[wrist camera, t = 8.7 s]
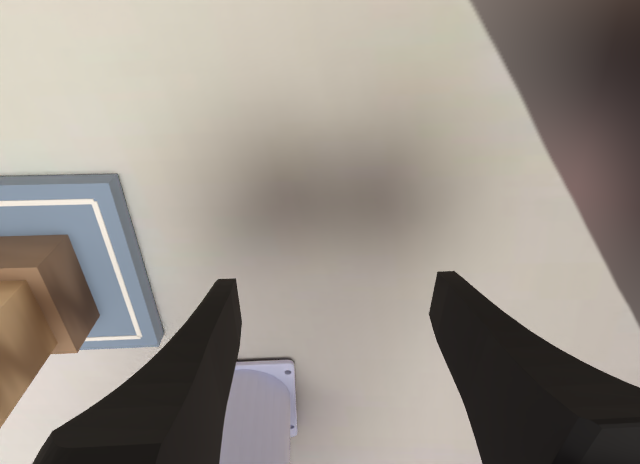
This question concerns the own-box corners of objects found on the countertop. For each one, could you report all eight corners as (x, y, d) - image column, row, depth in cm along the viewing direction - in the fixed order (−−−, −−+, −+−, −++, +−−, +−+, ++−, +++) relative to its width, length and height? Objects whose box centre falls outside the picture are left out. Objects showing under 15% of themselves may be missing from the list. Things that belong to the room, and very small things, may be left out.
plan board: (164, 333, 27) (144, 384, 24) (-15, 340, 26) (-63, 394, 23) (117, 174, 21) (80, 211, 17) (-118, 178, 20) (-207, 218, 17)
